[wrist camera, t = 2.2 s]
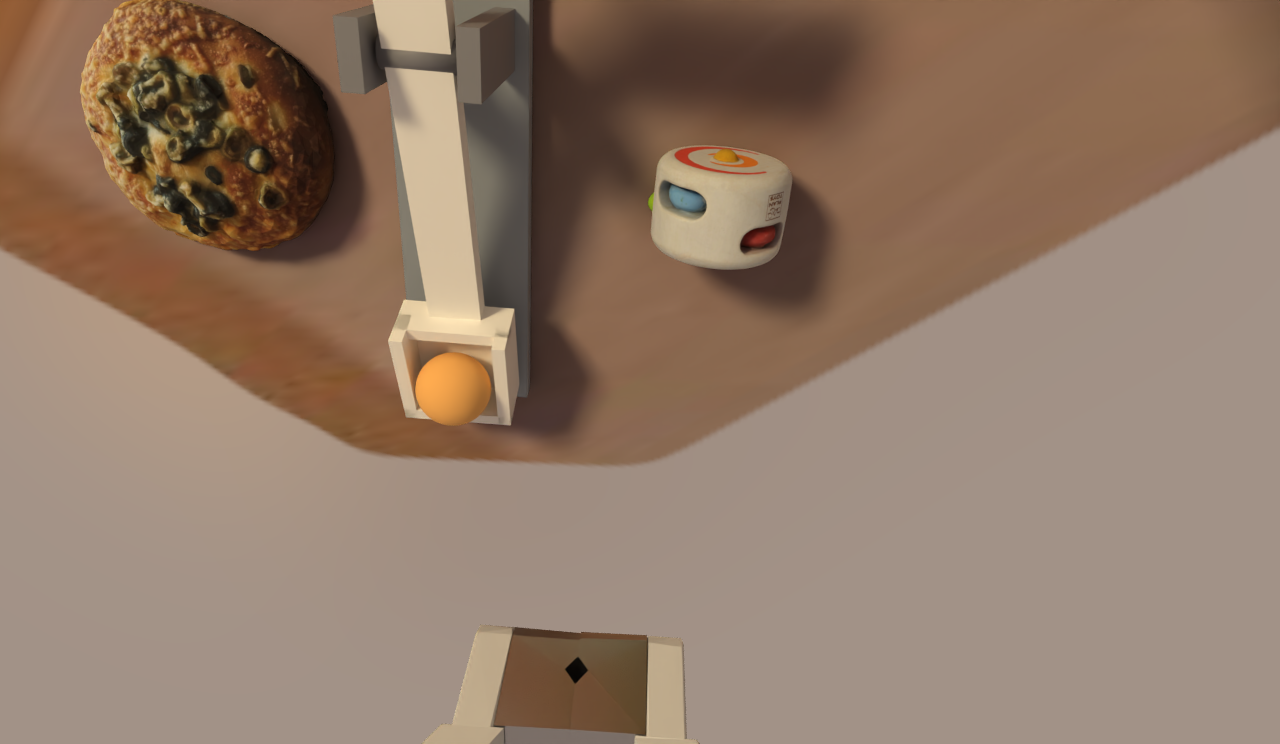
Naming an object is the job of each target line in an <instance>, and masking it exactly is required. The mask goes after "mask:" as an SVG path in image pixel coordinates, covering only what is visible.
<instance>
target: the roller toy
mask: <svg viewBox="0 0 1280 744" xmlns="http://www.w3.org/2000/svg"><path fill="white" fill-rule="evenodd" d="M791 186H792V174H791V172H790V170H789V169H788V167H787V166H786V165H785V164H784V163H783V162H781V161H780V160H778V159H776V158H773V157H771V156H768V155H765V154H762V153H759V152H755V151H751V150H746V149H740V148H733V147H725V146H711V145H696V146H685V147H680V148H676V149H673V150H671V151H669V152H667V153H666V154H664V155H663V156H662V158H661V159H660V160H659V162H658V166H657V173H656V182H655V191H654V193H653V194H652V195H651V196H650V197H649V200H648V206H649V208H650V210H651V211H652V224H651V236H652V239H653V241H654V243H655V245H656V246H657V247H658V249H659V250H660V251H662V252H663V253H664V254H666V255H667V256H669V257H671V258H673V259H675V260H678V261H680V262H683V263H687V264H690V265H694V266H698V267H704V268H711V269H722V270H735V269H746V268H752V267H756V266H759V265H762V264H764V263H767V262H769V261H770V260H771V259H772V258H774V257H775V256H776V254H777V253H778V251H779V249H780V246H781V242H782V237H783V232H784V227H785V222H786V217H787V211H788V205H789V199H790V192H791Z"/></svg>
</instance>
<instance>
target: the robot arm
mask: <svg viewBox="0 0 1280 744" xmlns="http://www.w3.org/2000/svg"><path fill="white" fill-rule="evenodd" d="M686 733H687V732H686V703H685V675H684V645H683V642H682V640H681V638H669V637H654V636H648V638H647V635H629V634H628V635H627V634H610V633H590V632H581V633H573V632H562V631H551V630H540V629H529V628H518V627H503V626H489V625H480V627H479V629H478V631H477V633H476V635H475V639H474V643H473V647H472V650H471V654H470V658H469V662H468V665H467V670H466V673H465V677H464V681H463V685H462V688H461V692H460V696H459V700H458V704H457V708H456V711H455V715H454V719H453V723H452V724H441V725H440V726H439V727H438V728H437V729H436V730H435V731H434V732H433V733H432V734H431V735H430V736H429V737H428V738H427V739H426V740H425V741H424V742H423V743H422V744H700V743H699V742H698V741H697V740H693V739H687V734H686Z"/></svg>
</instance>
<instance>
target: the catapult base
mask: <svg viewBox="0 0 1280 744" xmlns="http://www.w3.org/2000/svg"><path fill="white" fill-rule="evenodd" d="M453 7H454V17H455V33H456V58H457V84H458V102H460V103H464V113H465V122H466V132H467V141H468V151H469V160H470V170H471V180H472V189H473V199H474V208H475V218H476V227H477V237H478V247H479V256H480V266H481V275H482V285H483V295H484V304H485V306H487V307H500V308H512V309H514V311H515V326H516V341H517V356H518V371H519V388H518V393H517V397H527V396H528V393H529V389H530V321H531V194H532V67H533V0H453ZM333 23H334V32H335V41H336V50H337V59H338V67H339V76H340V85H341V92H345V93H357V94H366V93H368V92H369V91H371V90H373V89H375V88H376V87H378V86H380V85H382V84H383V83H385V82H387V78H386V72H385V69H380V68H379V66H378V63H377V59H376V50H375V46H376V38H377V35H378V27H377V21H376V16H375V10H374V5H369V6H365V7H362V8H358V9H354V10H351V11H347V12H343V13H340V14H336V15H333ZM390 106H391V100H390ZM391 118H392V130H393V142H394V155H395V167H396V179H397V191H398V203H399V216H400V228H401V240H402V252H403V264H404V277H405V289H406V300H414V301H426V297H425V292H424V286H423V280H422V275H421V269H420V264H419V258H418V252H417V247H416V241H415V235H414V230H413V224H412V219H411V213H410V207H409V202H408V196H407V190H406V185H405V179H404V173H403V168H402V162H401V157H400V151H399V145H398V140H397V134H396V128H395V123H394V117H393V112H392V106H391Z"/></svg>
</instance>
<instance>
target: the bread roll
mask: <svg viewBox="0 0 1280 744" xmlns="http://www.w3.org/2000/svg"><path fill="white" fill-rule="evenodd" d="M289 56H290V57H289ZM289 56H288V55H287V54H286V53H285V52H284V51H283V50H282V49H281V48H280V46H279V45H277V44H275V43H274V42H272V41H271V40H269V39H268V38H267V37H266V36H263V35H262V34H261V33H259V32H257V31H255V30H254V29H253V28H249V27H248V26H245V25H244V24H242V23H240V22H238V21H235V20H234V19H231V18H230V17H227V16H226V15H222V14H220V13H218V12H215V11H212V10H209V9H207V8H204V7H201V6H198V5H195V4H192V3H189V2H183V1H180V0H132V1H128V2H124V3H122V4H121V5H120V6H119V7H118V8H116V9H114V14H113V16H112V18H111V19H110V20H109V21H108V22H107V23H106V24H105V25H104V28H103V30H102V32H101V34H100V36H99V37H98V38H97V39H96V41H95V43H94V44H93V46H92V48H91V50H90V51H89V52H88V56H87V60H86V64H85V67H84V70H83V72H82V74H81V76H82V84H81V90H80V93H81V101H82V107H83V109H84V114H85V120H86V124H87V125H88V128H89V130H90V132H91V135H92V136H91V138H92V139H93V140H94V141H95V144H96V145H97V147H98V148H99V150H100V151H101V153H102V155H103V160H104V163H105V168H106V170H107V171H108V173H109V175H110V177H111V179H112V180H113V181H114V182H115V183H116V184H117V185H118V186H119V188H120V189H121V190H122V192H123V193H124V194H125V196H126V197H127V198H128V199H129V200H130V202H131V203H132V204H133V205H134V206H135V207H136V208H137V209H138V210H140V211H141V212H142V213H143V214H144V215H146V216H147V217H148V218H150V219H151V220H152V221H153V222H154V223H155V224H157V225H158V226H160V227H162V228H163V229H165V230H170V231H174V232H175V233H176V235H179V236H182V237H185V238H188V239H191V240H194V241H198V242H200V243H202V244H206V245H210V246H214V247H217V248H221V249H224V250H232V249H235V250H238V249H248V250H251V251H258V250H260V249H261V248H273V247H275V246H277V245H278V244H280V243H281V242H283V241H288V240H292V239H294V238H296V237H298V236H300V235H301V234H302V233H303V231H305V230H306V229H307V228H308V227H309V226H310V225H311V224H312V222H313V221H314V220H315V218H316V217H317V215H318V214H319V211H320V209H321V208H322V206H323V204H324V202H325V201H326V200H327V198H328V195H329V192H330V190H331V186H332V182H333V175H334V172H333V169H332V167H333V162H334V157H335V155H334V148H333V140H332V133H331V130H330V125H329V122H328V118H327V110H328V107H327V104H326V102H325V101H324V100H323V99H322V96H323V92H322V90H321V89H320V87H319V86H318V85H317V84H316V83H315V82H314V81H313V79H312V78H311V77H310V76H309V75H308V73H307V72H306V71H305V70H304V69H303V67H302V65H301V64H299V62H298V61H297V60H296V59H294V58H293V57H292V56H291V55H289Z"/></svg>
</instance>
